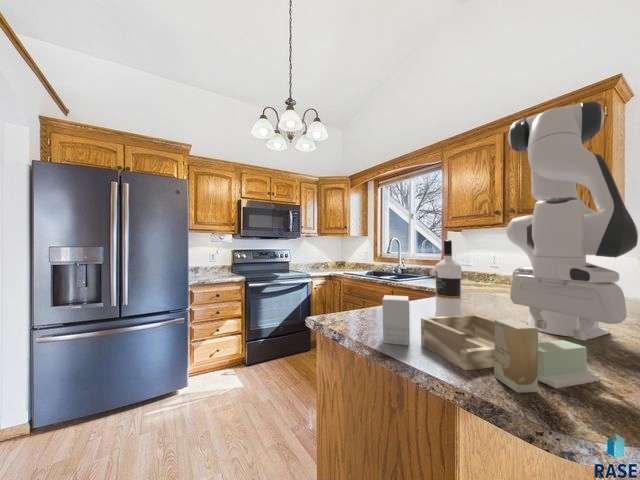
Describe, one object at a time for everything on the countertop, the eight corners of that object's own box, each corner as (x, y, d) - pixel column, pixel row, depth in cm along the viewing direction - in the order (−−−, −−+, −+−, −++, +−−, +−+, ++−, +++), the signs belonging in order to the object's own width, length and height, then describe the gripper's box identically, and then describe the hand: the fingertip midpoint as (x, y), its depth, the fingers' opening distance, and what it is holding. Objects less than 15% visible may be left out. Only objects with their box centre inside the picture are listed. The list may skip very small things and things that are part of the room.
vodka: (465, 332, 86) (464, 239, 87) (434, 328, 89) (433, 239, 90) (461, 324, 94) (460, 240, 95) (433, 321, 98) (432, 240, 99)
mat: (551, 362, 63) (551, 358, 63) (599, 380, 54) (599, 375, 54) (512, 368, 60) (511, 363, 60) (556, 388, 51) (556, 383, 51)
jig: (474, 339, 79) (474, 314, 79) (529, 361, 63) (529, 330, 64) (421, 344, 74) (420, 317, 74) (465, 370, 59) (465, 336, 59)
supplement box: (409, 337, 80) (409, 295, 80) (409, 346, 73) (409, 300, 73) (384, 335, 82) (384, 294, 83) (382, 343, 75) (382, 298, 76)
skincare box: (493, 377, 56) (492, 318, 56) (512, 376, 56) (511, 318, 56) (518, 394, 49) (517, 327, 50) (540, 393, 50) (539, 327, 50)
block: (563, 361, 61) (562, 339, 61) (587, 370, 57) (586, 347, 57) (522, 367, 58) (522, 344, 58) (544, 376, 54) (543, 352, 54)
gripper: (503, 266, 68) (504, 321, 67) (607, 274, 48) (609, 352, 47) (522, 266, 69) (523, 319, 69) (630, 274, 49) (633, 348, 49)
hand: (559, 333), depth 58 cm, fingers open, 6 cm apart
